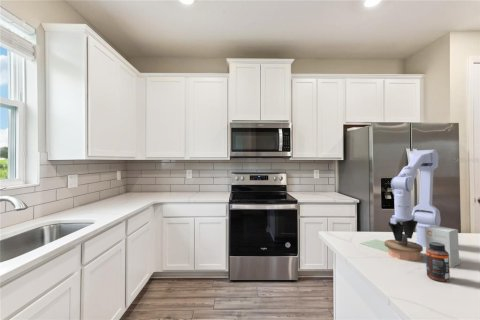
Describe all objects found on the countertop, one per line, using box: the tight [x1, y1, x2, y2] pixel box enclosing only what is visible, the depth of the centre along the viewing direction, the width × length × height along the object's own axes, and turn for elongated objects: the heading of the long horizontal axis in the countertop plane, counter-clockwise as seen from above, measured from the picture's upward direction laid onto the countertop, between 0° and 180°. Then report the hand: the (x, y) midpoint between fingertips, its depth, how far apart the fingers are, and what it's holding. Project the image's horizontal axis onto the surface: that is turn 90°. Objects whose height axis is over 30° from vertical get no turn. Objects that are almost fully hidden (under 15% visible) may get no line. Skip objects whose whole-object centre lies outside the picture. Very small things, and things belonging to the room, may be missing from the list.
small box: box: [425, 225, 460, 268], centre depth 94 cm, size 8×6×13 cm
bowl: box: [387, 248, 422, 262], centre depth 100 cm, size 11×11×4 cm
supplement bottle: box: [425, 242, 451, 282], centre depth 81 cm, size 6×6×11 cm
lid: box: [384, 233, 424, 253], centre depth 101 cm, size 13×13×6 cm
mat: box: [359, 239, 389, 253], centre depth 114 cm, size 13×13×1 cm
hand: (403, 239), depth 100 cm, fingers open, 7 cm apart
